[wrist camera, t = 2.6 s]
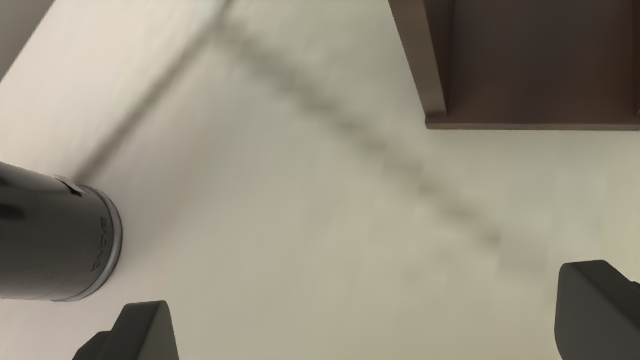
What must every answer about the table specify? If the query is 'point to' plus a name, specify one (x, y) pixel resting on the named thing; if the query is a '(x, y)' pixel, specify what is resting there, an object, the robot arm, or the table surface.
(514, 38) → the brown wooden tall frame
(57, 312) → the table surface
